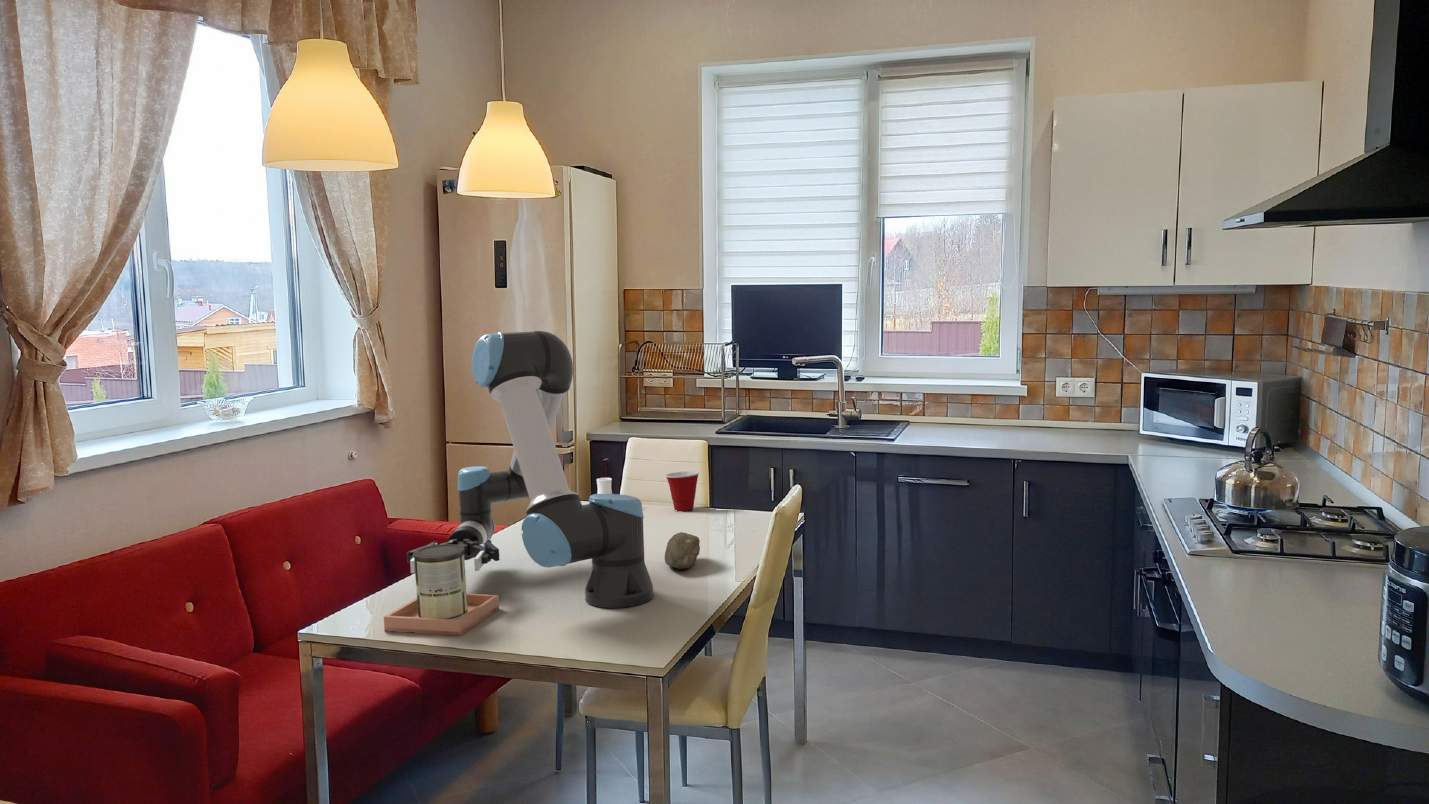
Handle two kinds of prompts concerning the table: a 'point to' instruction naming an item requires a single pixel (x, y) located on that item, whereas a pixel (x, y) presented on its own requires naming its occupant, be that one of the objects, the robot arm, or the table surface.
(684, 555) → the stone
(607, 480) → the vase
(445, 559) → the coffee can
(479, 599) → the terracotta dish
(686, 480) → the plastic cup
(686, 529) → the table surface
